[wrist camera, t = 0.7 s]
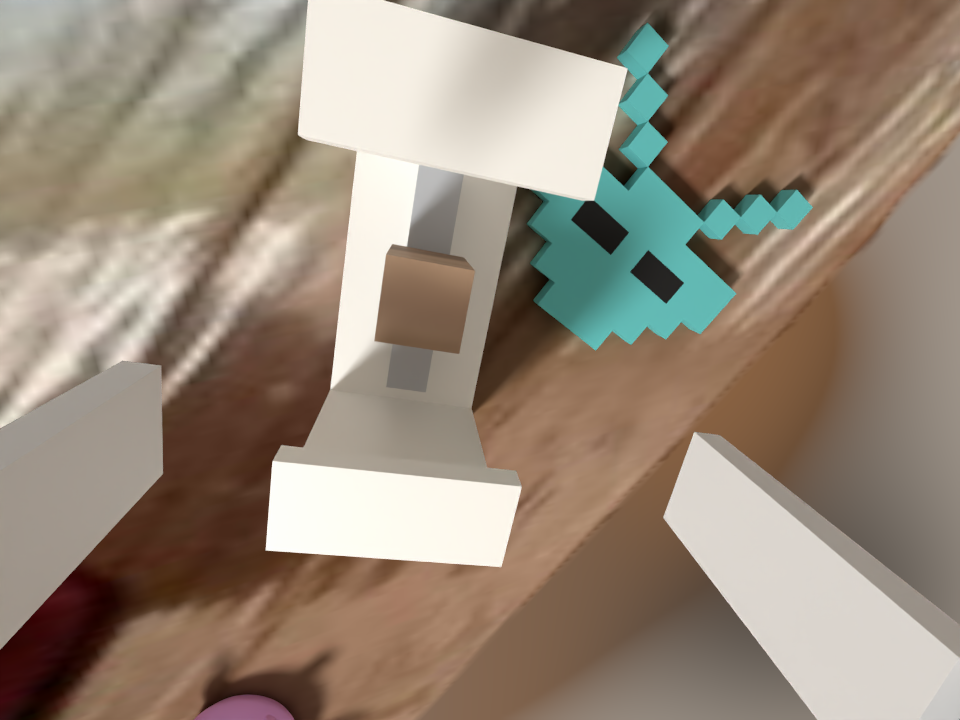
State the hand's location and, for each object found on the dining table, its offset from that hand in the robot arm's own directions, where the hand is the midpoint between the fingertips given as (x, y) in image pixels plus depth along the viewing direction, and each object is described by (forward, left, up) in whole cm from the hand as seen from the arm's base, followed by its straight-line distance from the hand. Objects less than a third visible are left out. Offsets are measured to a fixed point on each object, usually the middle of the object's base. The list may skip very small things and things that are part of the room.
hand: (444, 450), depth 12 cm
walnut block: (0, 0, -23) cm, 23 cm away
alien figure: (-7, +17, -29) cm, 34 cm away
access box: (0, 0, -28) cm, 28 cm away
